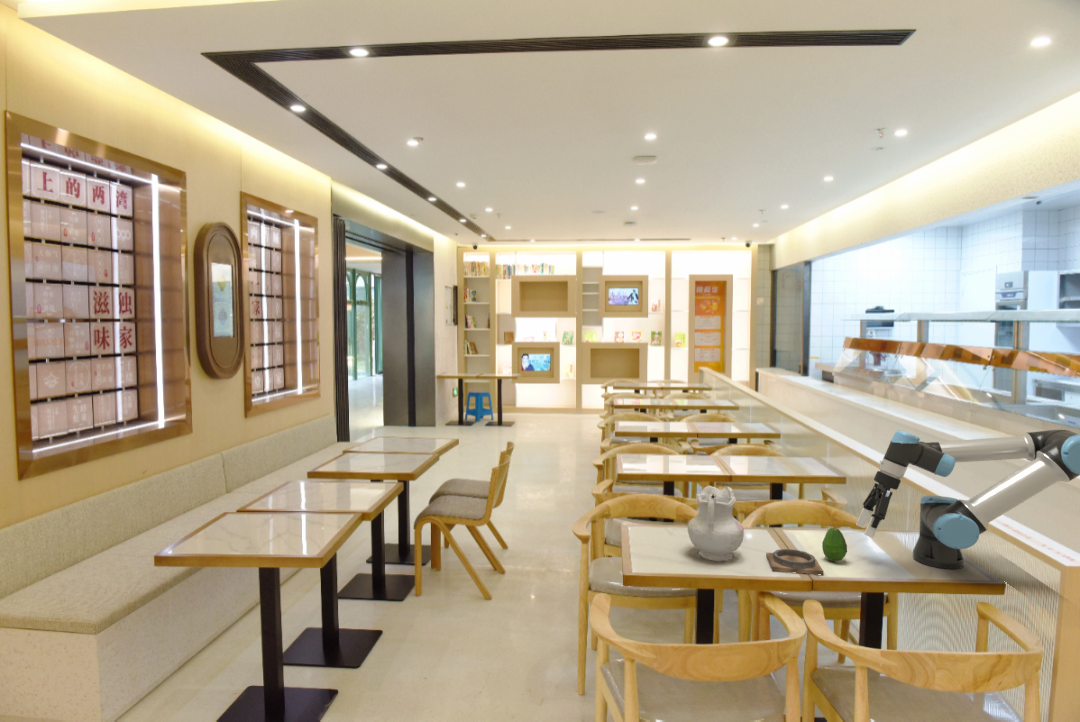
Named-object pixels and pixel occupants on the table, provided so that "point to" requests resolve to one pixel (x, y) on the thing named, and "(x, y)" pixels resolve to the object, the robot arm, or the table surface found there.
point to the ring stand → (793, 562)
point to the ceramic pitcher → (716, 525)
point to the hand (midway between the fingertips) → (864, 531)
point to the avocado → (834, 545)
